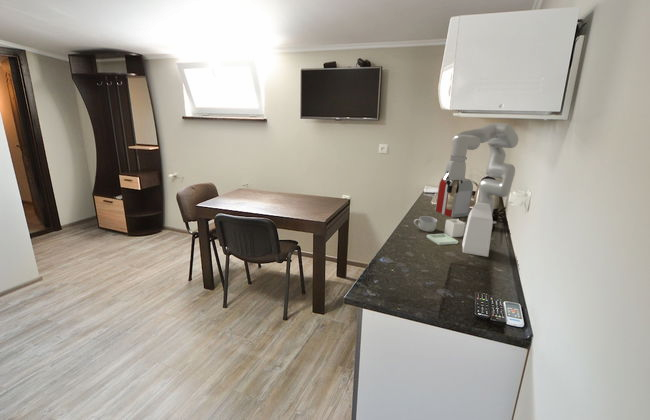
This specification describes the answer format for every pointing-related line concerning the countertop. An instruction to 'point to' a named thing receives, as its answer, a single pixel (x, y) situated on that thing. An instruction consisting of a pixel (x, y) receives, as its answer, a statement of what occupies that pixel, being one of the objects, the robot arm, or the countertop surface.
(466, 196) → the red and white block
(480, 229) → the milk
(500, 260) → the countertop surface
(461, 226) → the open box
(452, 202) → the dowel
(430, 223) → the teacup
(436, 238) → the tray
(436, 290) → the countertop surface
